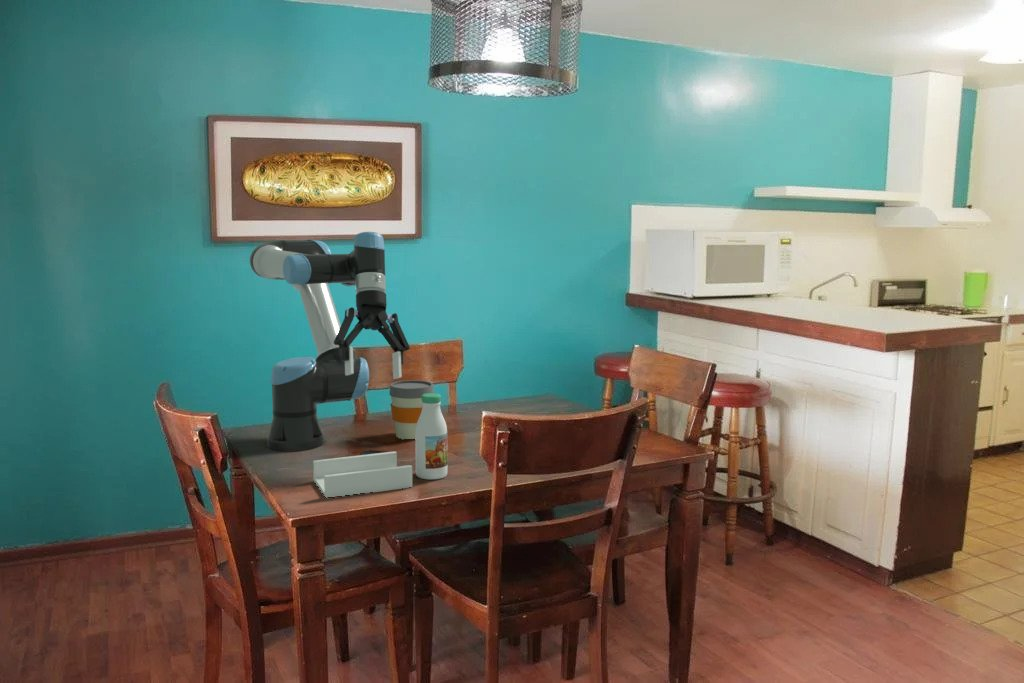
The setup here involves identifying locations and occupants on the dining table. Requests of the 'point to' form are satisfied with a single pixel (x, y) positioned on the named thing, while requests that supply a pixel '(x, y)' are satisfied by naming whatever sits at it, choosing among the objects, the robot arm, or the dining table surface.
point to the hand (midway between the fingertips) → (373, 376)
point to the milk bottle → (431, 440)
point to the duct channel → (361, 474)
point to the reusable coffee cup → (408, 405)
